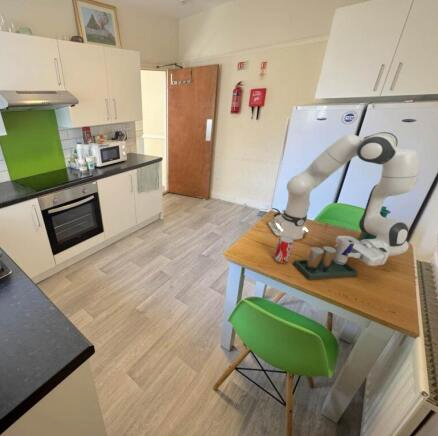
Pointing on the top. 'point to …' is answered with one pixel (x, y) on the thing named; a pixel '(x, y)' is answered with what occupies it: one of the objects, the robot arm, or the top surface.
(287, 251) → the soda can
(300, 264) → the drinks tray
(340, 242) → the energy drink
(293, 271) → the top surface
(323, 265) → the matching cans
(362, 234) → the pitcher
